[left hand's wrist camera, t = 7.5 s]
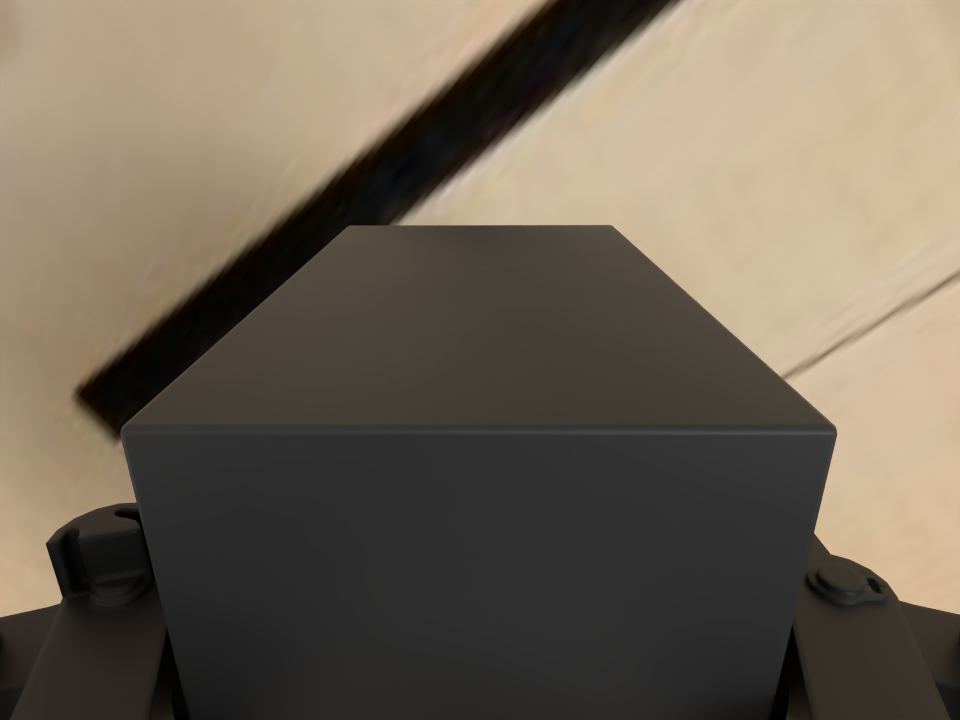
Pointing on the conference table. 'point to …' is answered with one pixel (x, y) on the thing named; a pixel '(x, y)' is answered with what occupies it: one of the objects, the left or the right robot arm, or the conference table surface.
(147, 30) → the conference table surface
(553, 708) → the box
